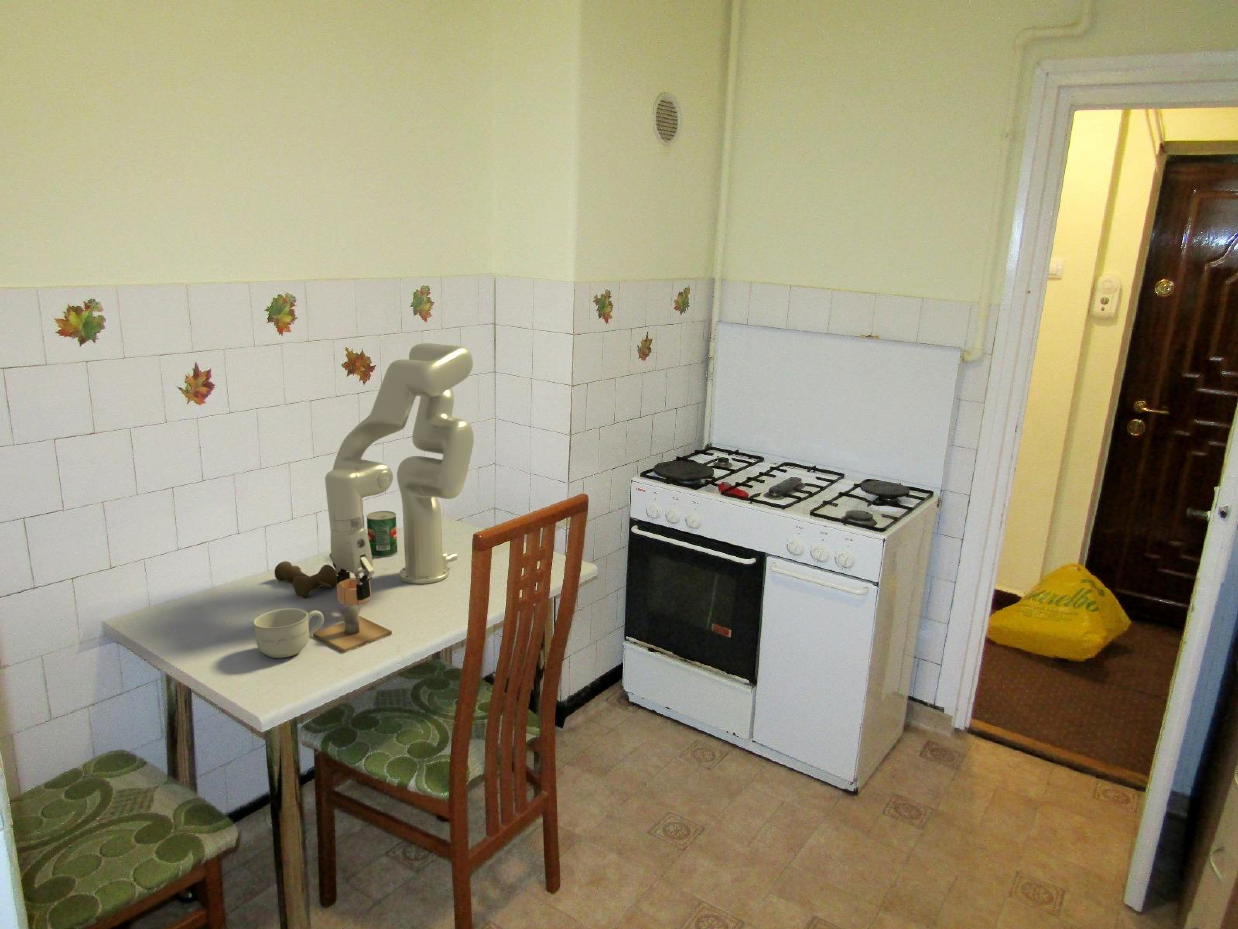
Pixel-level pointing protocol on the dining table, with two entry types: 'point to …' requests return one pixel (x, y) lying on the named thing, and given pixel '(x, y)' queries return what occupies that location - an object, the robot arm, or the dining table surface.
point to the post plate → (352, 640)
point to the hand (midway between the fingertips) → (354, 593)
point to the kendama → (305, 578)
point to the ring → (349, 592)
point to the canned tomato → (382, 533)
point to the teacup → (284, 631)
